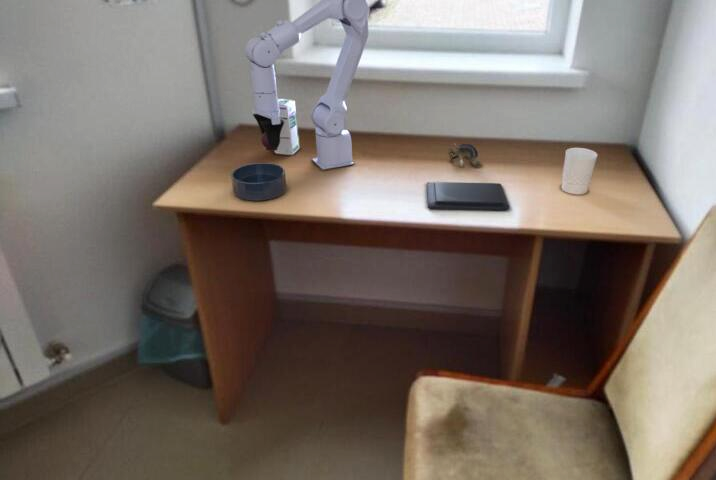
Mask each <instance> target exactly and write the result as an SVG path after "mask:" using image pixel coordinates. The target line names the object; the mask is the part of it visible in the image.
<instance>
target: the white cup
mask: <svg viewBox="0 0 716 480" xmlns="http://www.w3.org/2000/svg"><path fill="white" fill-rule="evenodd" d="M598 156H599V155H598V153H597V152H596V151H594V150H592V149H590V148H585V147H570V148H567V149H566V150H565V155H564V162H563V167H562V176H561V190H562V191H563V192H565V193H568V194H572V195H584V194H586V193H587V192H588V191H589V187H590V183H591V180H592V177H593V174H594V171H595V167H596V163H597V160H598Z"/></svg>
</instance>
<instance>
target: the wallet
mask: <svg viewBox="0 0 716 480" xmlns="http://www.w3.org/2000/svg"><path fill="white" fill-rule="evenodd" d="M426 198H427V208H428V209H429V210H438V211H439V210H440V211H486V212H487V211H491V212H492V211H493V212H506V211H508V210H509V209H510V205H509V204H510V203H509V201H508V199H507V196H506V194H505V191H504V189H503V186H502V183H499V182H497V183H496V182H467V181H465V182H463V181H462V182H461V181H459V182H458V181H426Z"/></svg>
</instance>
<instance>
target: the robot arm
mask: <svg viewBox="0 0 716 480" xmlns="http://www.w3.org/2000/svg"><path fill="white" fill-rule="evenodd" d="M370 12H371V9H370V7H369V5H368V3H367V0H319V2H317V3H316V4H315V5H312V7H310V8H309V9H308V10H307V11H305V12H304V13H302V14H300V16H298V17H297V18H295V19H294V20H293V21H291V20H289V19H284V20H281V19H279V20H277V21H276V23H275V24H276V25H275V26H273V27H272V28H270V29H269V30H267V31H266V32H264V31H262V32H261V33H259V35H260V37H253V38H251V39H249V40H248V41H247V44H246V46H245V50H244V55H245V57H246V59H248V60H249V65H250V76H251V84H252V92H253V100H254V106H255V107H254V108H251V109H250V112H251V114H252V116H253V118H254V119H255V121H256V122H257V125H258V127H259V129H260V132H261V133H260V134H261V136H262V135H263V133H264V132H266V135H267V139H268V143H269V146H270V147H271V148H274V147H279V140H280V133H281V130H282V127H283V125H284V121H283V120H280V116H279V113H280V108H279V106H278V99H279V97H278V89H277V79H276V71H275V63H276V61H277V59H278V57H279V56H281V55H282V54H284V53H285V52H286V51H288V50H290V49H292V47H294V46H296V45H297V44H299V43H300V41H301V36H302V35H303V34H304V33H306V32H308V31H310V30H311V29H313V28H314V27H316V26H318V25H320V24H321V23H323V22H325V21H326V20H330V19H331V20H338V21H339V22H340V23H341V25H342V28H343V30H344V32H345V37H344V39H343V40H344V41H343V43H342V46H341V49H340V51H339V54H338V58H337V60H336V63H335V66H334V68H333V72H332V75H331V77H330V80H329V83H328V86H327V89H326V92H325V93H324V94H323V95H322V96H320V97H319V99H318V102H317V103H316V105H314V107H313V108H312V109H311V113H310V119H311V122H312V123H313V124H314V126H315V131H314V133H315V144H316V157H314V158H312V162H314V163H315V164H316V165H317V166H318V167H319V168H320V170H329V169H334V168H340V167H345V166H346V167H347V166H351V165H354V161H353V142H352V136H351V133H350V131H349V130H347V129H345V128H346V116H347V113H348V109H347V105H346V100H347V97H348V94H349V91H350V89H351V86H352V83H353V80H354V78H355V75H356V72H357V69H358V67H359V64H360V61H361V58H362V56H363V53H364V50H365V48H366V44H367V42H368V39H369V36H370V29H369V28H370V26H369V15H370Z"/></svg>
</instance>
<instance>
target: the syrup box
mask: <svg viewBox="0 0 716 480" xmlns="http://www.w3.org/2000/svg"><path fill="white" fill-rule="evenodd" d="M278 106H279V108H280V113H279V116H280V120H283V121H284V125H283V127H282V130H281V133H280V144H279V147H278V149H277V150H275V151H274V154H277V155H285V156H293V155H295V154H296V152H298V150H300V149H301V146H300V135H299V128H298V127H299V126H298V118H297V117H298V116H297V109H296V101H295V100H294V99H288V98H278Z"/></svg>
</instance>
